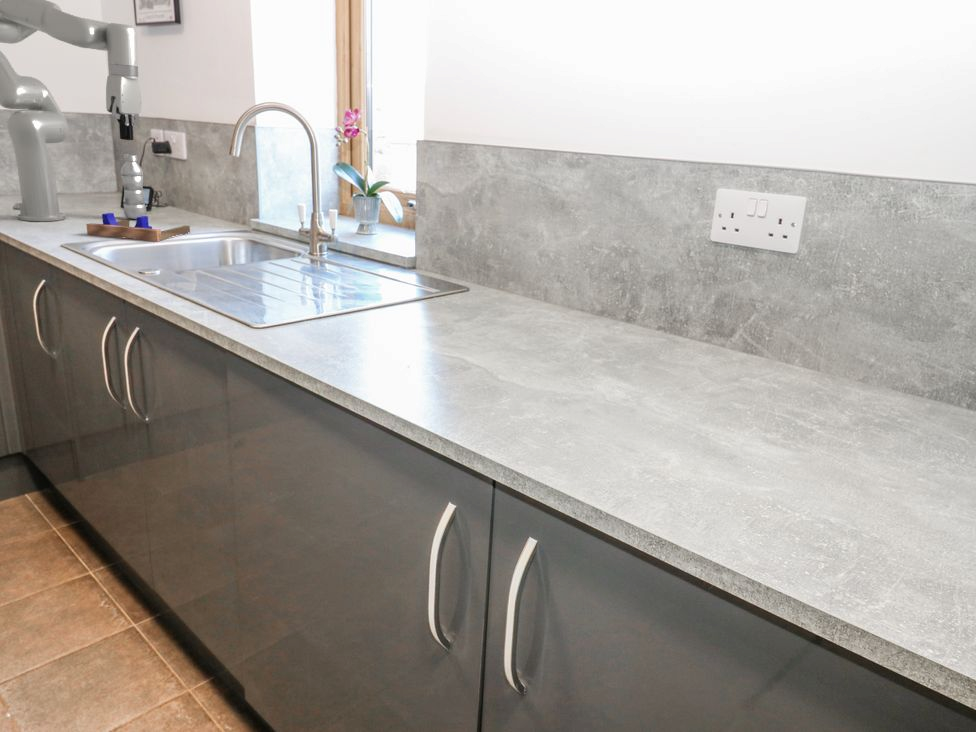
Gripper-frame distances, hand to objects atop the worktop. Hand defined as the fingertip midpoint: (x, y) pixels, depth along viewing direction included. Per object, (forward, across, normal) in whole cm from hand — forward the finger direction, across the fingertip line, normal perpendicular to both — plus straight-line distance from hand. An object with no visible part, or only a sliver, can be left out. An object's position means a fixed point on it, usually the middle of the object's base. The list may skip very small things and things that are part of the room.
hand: (126, 139), depth 214 cm
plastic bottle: (+26, -15, -8) cm, 31 cm away
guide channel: (+25, +7, +8) cm, 27 cm away
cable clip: (+26, +12, +7) cm, 29 cm away
